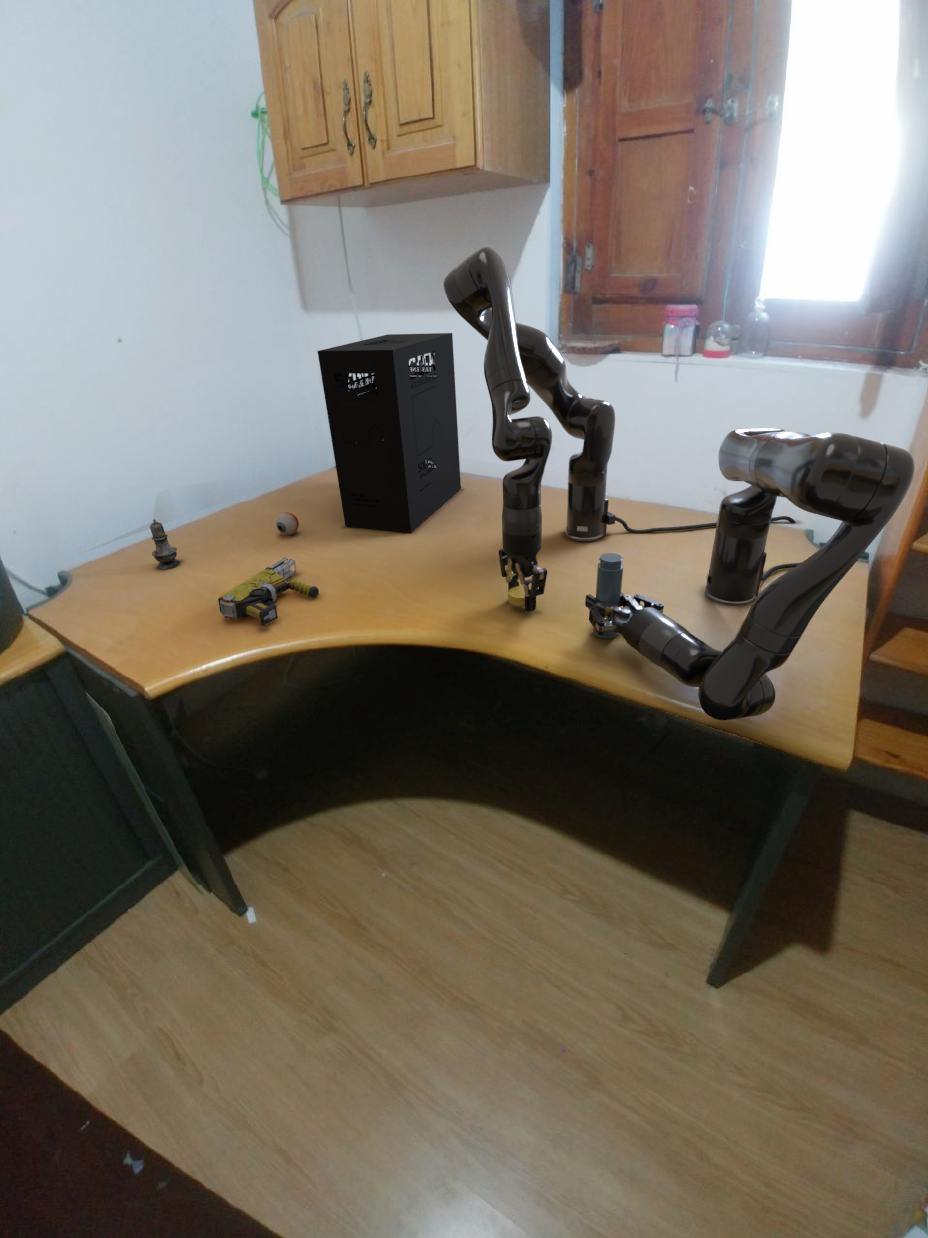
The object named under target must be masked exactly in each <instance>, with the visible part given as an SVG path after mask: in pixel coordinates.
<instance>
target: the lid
mask: <svg viewBox="0 0 928 1238" xmlns="http://www.w3.org/2000/svg"><path fill="white" fill-rule="evenodd" d="M530 589H531V586H529V590H530ZM507 601H508V602H509V604H511V605H513V606H516V607H525V591H524V587H523V585H519V586H516V587H513V588H511V589H509V591H508V590H507Z"/></svg>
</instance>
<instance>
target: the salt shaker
mask: <svg viewBox="0 0 928 1238" xmlns="http://www.w3.org/2000/svg"><path fill="white" fill-rule="evenodd" d="M149 529H150V532H151V536H152V537H151V540H152V541H153V542H154V546H155V550H153V551H152V552H151V556H152V557H153V559H155V561H157V562H158V564H157V567H156V568H158V569H160V570H167V569H168V570H169V569H172V568H175V567H177V566H178V565H180V563H181V562H180V560H179V559H176V557H177V556H178V554H177V553H178V552H177V551H178V548H177V547H175V546H171V544H170V543H169V540H168V534H166V531H165V528H164V525H163V523H161V522H158V521H157V520H156V519H153V520H152V523H150V525H149Z"/></svg>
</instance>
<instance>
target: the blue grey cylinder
mask: <svg viewBox="0 0 928 1238" xmlns="http://www.w3.org/2000/svg"><path fill="white" fill-rule="evenodd" d="M623 559H624V557H623V556H622V555H620V554H618V553H616V552H606V553H603V554H601V555H600V556H599V558H598V560H599V562H598V564H597V569H596V570H597V571H596V585H595V586H596V587H595V598H596V599H598V600H599V601H600V602H601V603H603V604H605V605H608V606H609V605H614V606H617V607H619V608H621V607H620V599H621V592H622V588H623V587H622V586H623V578H624V577H623V576H624V564H623ZM602 613H603V614H605V611H604V610H602ZM593 635H594V636H595V637H598V638H599V639H605V640H609V639H614V638H616V637H617V636H618V633H616V632H614V631H613V630H607V631H605V632H604V635H598V634H597V632H596V631H595V629H594V628H593Z"/></svg>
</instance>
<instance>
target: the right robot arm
mask: <svg viewBox="0 0 928 1238" xmlns="http://www.w3.org/2000/svg"><path fill="white" fill-rule="evenodd" d="M717 462H718V468H719V472H720V474H721V476H723V478H724V479H726V480H727V481H731V482H744V483H746V484H748V485H750V486H748V487H747V488H744V489H741V490H740V491H737V492H734V493H731V494H728V495H726V496H725V497H723V498H722V499H721V501H720V504H719V507H718V508H719V509H718V515H717V519H716V520H717V521H716V522H717V526H715V534H714V539H713V544H712V551H711V556H710V562H709V563H710V564H709V568H708V571H707V572H706V586H705V588H704V594H705V596H706V597H707V598H708V599H709V600H711V601H713V602H714V603H717V604H720V605H724V606H730V607H731V606H732V607H740V606H741V607H742V606H746V605H747V606H748V605H750V604H751V605H750V607H749V609H748V611H747V613H746V615H745V617H744V619H743V621H742V623H741V624H740V627H739V629H738V631H737V633H736V634H735V637H734V638H733V639H732V640H731V641H730V642H729V644H727V646H726V647H724V648H723V649H722V650H718V649H715V648H714V647H712V646H709V645H708V644H707V643H706V642H705V641H703V640H701V639H700V638H698V637H697V636H696V635H694V634H692V633H691V632H690V631H689V630H687V629H686V627H684V626H683V625H682V624H680V623H678V622H677V621H675V620H674V619H672V618H671V617H669V615H666V614H665V613H664V605H665V604H664V603H662V602H660V601H658V600H656V599H652V598H650V597H649V596H648V597H647V596H645V595H642V594H639V593H635V594H634V595H633V596H631V595H630V594H624V593H623V592H622V591H621V599H620V608H619V607H617V606H614V605H609V606H608V605H605V604H603V603H601V602H600V601H599V600H598V599H596V596H594V595H592V594H590V593H589V594H586V595H585V599H584V605H585V607H586V608H587V609H588V611H589V612H588V621H589V623H590V625H591V626H592V627H593V630H594V629H595V631H596V632H597V634H598V635H604V632H605V631H607V630H613V631H614V632H616V633H617V634H618V635H619V634H620V635H621V636H622V638H623V639H624V641H625V642H626V644H627V645H628V646H630V647H631V648H632V649H633V650H634V651H637V653H639V654H640V655H641V656H642V657H644V658H645V659H647V660H648V661H649V662H651V663H652V664H653V665H655V666H656V667H658V668H660V669H662V670H664V671H665V672H666V673H668V674H669V675H671V676H672V677H673V678H674V679H675V680H677V681H678V682H680V683H682V684H683V685H685V686H688V687H690V688H698V691H697V698H698V703H699V706H700V708H701V709H702V711H703V712H704V714H706V716H708V717H710V718H711V719H714V720H717V721H733V720H739V719H746V718H753V717H758V716H761V715H764V714H766V713H767V712H768V711H770V710H771V709H772V707H773V706H774V704H775V702H776V689H775V686H774V683H773V682H772V680H771V678H770V677H769V676H768V675H767V673H770V672H771V671H774V670H777V669H778V668H781V667H782V666H784V665H785V663H786V662H787V661H788V659H789V658H790V656H791V655H792V653H793V651H794V650H795V648H796V646H797V645H798V643H799V641H800V640H801V638H802V636H803V634H804V632H805V631H806V629H807V627H808V625H809V624H810V622H811V621H812V619H813V618H814V616H815V614H816V612H817V611H818V610H819V608H820V607H821V606H822V604H823V603H824V601H825V600H826V599H827V598H828V596H829V595H830V594H831V593H832V592H833V590H834V589H835V588H836V586H838V584H839V583H840V582H841V580H843V578H844V577H845V576H846V575H847V574H848V572H849V571H850V570H851V569H852V568H853V566H854V565H855V564H856V563H857V561H858V560H859V559H860V558H861V557H862V556H863V554H864V553H865V552H866V550H867V549H868V548H869V547H870V545H871V544H872V543H873V542H874V540H875V539H876V538H877V536H879V534H880V533H881V532H882V530H883V529H884V528H885V527H886V525H887V524H888V523H889V521H890V520H891V519H892V517H894V515H895V513H896V512H897V510H898V509H899V508H900V507H901V504H902V503H903V502H904V499H905V498H906V497H907V494H908V492H909V490H910V489H911V485H912V483H913V480H914V476H915V471H916V466H915V460H914V457H913V455H912V454H911V453H910V452H909V451H908V450H906V449H904V448H901V447H898V446H895V445H892V444H887V443H884V442H879V441H876V440H872V439H868V438H864V437H860V436H857V435H852V434H848V433H844V432H822V433H817V434H812V435H811V434H809V433H805V432H799V431H792V430H791V431H789V430H785V429H783V428H778V427H777V428H775V427H774V428H770V427H767V428H737V429H734V430H731V431H729V432H728V433H727V434H726V435H725V437H724V438H723V440H722V441H721V443H720V446H719V449H718V455H717ZM778 497H779V498H785V499H787V500H788V501H789V502H790V503H791V504H793V505H794V506H796V507H797V508H799V509H801V510H803V511H805V512H807V513H810V514H814V515H818V516H822V517H826V518H829V519H832V520H837V521H841V523H839V526H838V527H837V529H836V530H835V532H834V533H833V534H832V535H831V537H830V538H829V539H828V540H827V541H826V543H824V544H823V545H822V546H821V547H820V548H819V549H818V550H817V551H815V552H814V553H813V554H812V555H810V556H809V557H807V558H806V559H805V560H803V561H801V562H793V563H783V564H778V565H775V566H773V567H770V568H769V569H768V570H767V571H766V572H765V573H764V570H765V565H766V561H767V552H766V551H765V549H766V545H767V540H768V537H769V536H768V535H769V530H770V526H771V522H772V521H771V518H773V512H774V509H775V507H776V503H777V499H778ZM784 569H785V570H786V569H789V570H787V571H786V572H785V573H783V574H781V575H780V576H779V577H777V578H776V579H774V580H772V582H770V583H769V584H767V586H765V587H764V588H763V589H762V590H761V591H760V587H761V583H762V582H763V581H766V580H767V579H768V578H769V577H770V575H772V574H773V573H775V572H777V571H779V570H784ZM641 602H642V603H643V605H642V604H641ZM602 610H604V611H605V614H603V613H602Z"/></svg>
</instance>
